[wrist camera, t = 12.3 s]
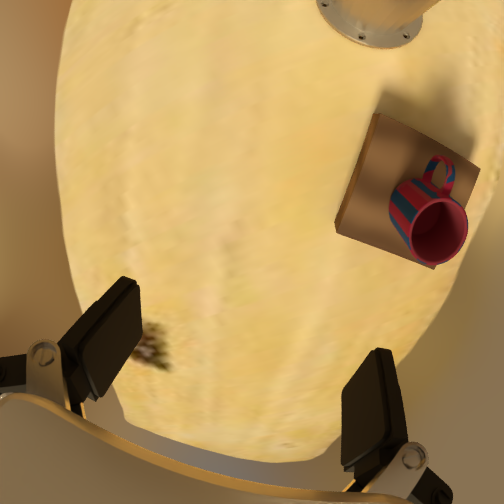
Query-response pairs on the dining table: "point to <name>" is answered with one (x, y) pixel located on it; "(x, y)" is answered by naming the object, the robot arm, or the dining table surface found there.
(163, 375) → the dining table surface
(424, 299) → the dining table surface
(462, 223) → the mug
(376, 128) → the walnut block
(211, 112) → the dining table surface
